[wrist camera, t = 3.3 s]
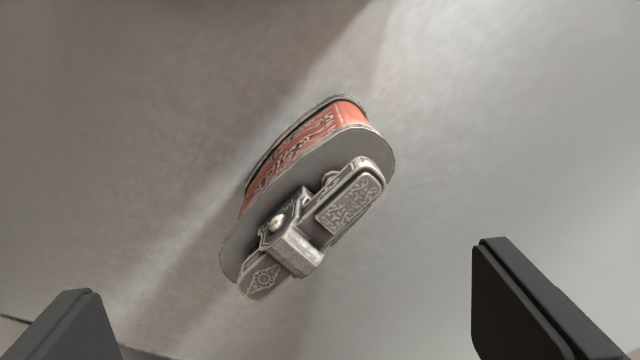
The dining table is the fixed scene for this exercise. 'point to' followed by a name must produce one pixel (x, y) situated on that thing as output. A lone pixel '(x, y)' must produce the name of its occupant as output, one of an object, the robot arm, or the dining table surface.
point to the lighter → (305, 196)
